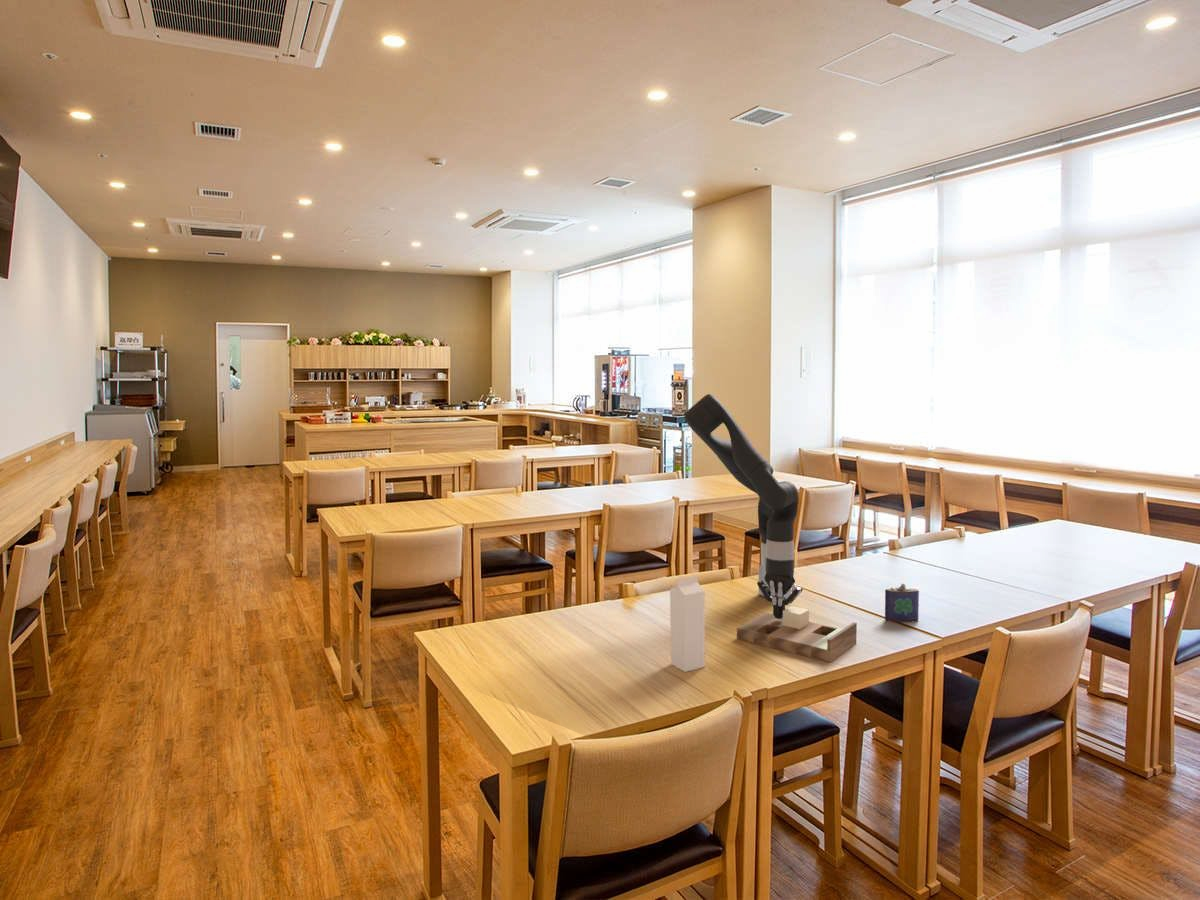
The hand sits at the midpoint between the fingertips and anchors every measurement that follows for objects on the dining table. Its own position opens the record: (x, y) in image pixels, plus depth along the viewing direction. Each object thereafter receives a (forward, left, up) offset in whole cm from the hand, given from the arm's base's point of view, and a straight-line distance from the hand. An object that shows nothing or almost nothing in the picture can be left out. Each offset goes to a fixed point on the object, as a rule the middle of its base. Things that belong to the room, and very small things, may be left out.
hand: (779, 617), depth 200 cm
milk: (-6, -35, -4) cm, 36 cm away
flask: (+23, +29, -4) cm, 37 cm away
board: (+7, -4, -4) cm, 9 cm away
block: (+5, 0, -1) cm, 5 cm away
